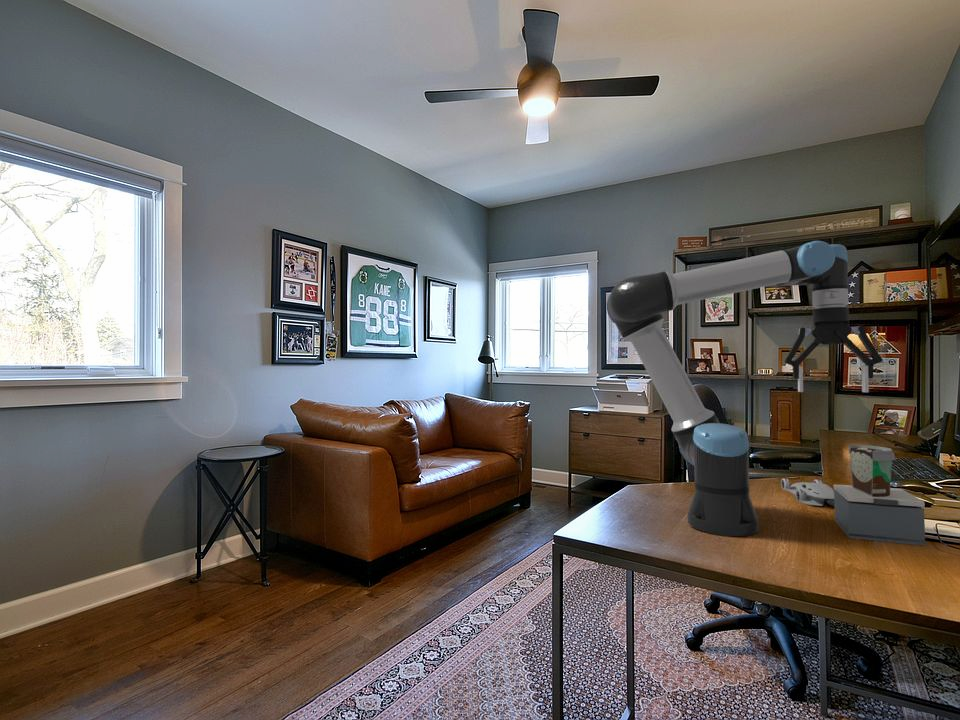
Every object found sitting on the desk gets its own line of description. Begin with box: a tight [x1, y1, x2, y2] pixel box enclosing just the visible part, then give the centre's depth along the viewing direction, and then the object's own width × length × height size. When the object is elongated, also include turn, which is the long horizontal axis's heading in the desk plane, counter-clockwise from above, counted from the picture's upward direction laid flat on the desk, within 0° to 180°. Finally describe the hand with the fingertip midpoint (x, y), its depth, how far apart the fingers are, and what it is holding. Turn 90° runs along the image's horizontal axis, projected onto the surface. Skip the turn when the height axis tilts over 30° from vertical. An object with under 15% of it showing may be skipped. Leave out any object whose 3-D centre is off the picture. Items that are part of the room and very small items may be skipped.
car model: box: [780, 477, 835, 508], centre depth 145 cm, size 11×24×5 cm, turn 165°
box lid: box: [833, 483, 926, 508], centre depth 115 cm, size 13×15×1 cm
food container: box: [848, 444, 897, 497], centre depth 115 cm, size 12×6×10 cm, turn 166°
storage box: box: [833, 488, 926, 546], centre depth 115 cm, size 13×14×8 cm
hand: (832, 392), depth 129 cm, fingers open, 13 cm apart
